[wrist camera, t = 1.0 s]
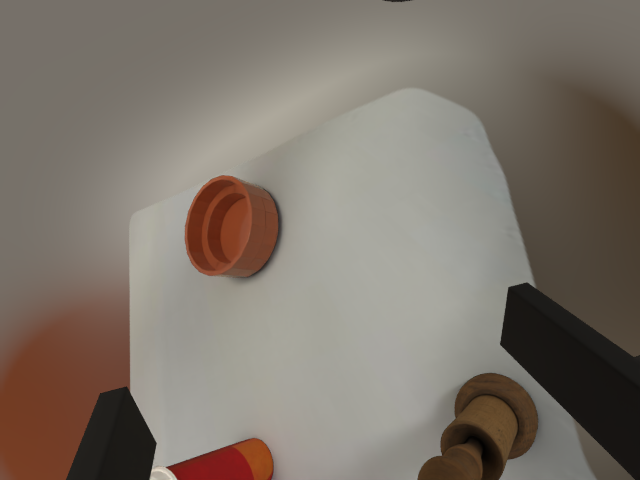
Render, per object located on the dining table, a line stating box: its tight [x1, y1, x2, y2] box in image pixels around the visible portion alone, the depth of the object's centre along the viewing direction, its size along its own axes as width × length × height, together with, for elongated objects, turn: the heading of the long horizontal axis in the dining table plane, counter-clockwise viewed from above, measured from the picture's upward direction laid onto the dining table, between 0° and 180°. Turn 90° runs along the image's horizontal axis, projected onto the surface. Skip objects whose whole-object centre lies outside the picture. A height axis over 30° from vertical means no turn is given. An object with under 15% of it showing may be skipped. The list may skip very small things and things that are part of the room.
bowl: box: [185, 175, 278, 278], centre depth 52 cm, size 14×14×6 cm
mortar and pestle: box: [418, 373, 538, 480], centre depth 25 cm, size 7×6×18 cm
